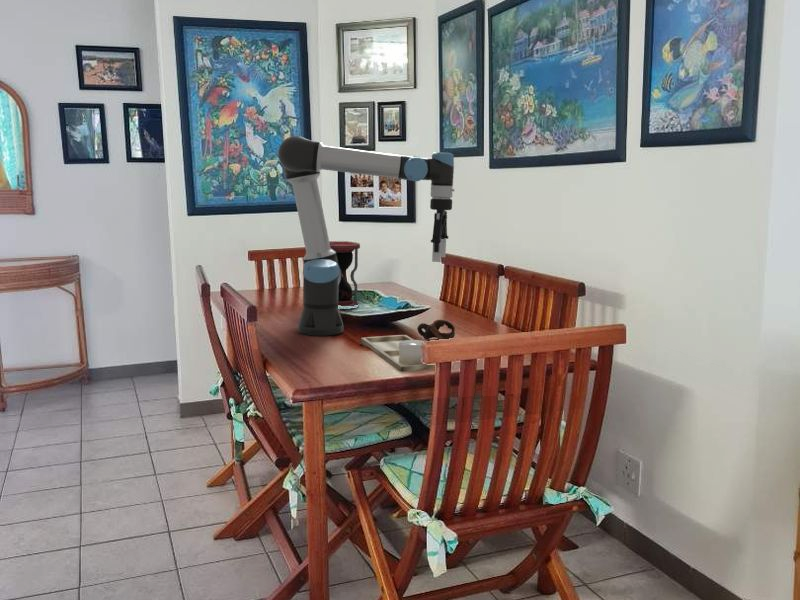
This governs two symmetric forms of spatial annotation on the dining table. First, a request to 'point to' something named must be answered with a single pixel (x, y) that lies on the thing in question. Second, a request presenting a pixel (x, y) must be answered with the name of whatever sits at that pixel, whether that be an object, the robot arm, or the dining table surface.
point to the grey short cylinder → (410, 352)
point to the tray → (392, 351)
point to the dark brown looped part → (436, 330)
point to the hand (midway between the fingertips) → (439, 259)
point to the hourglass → (344, 262)
